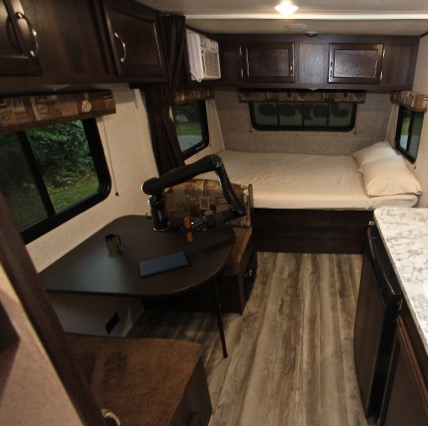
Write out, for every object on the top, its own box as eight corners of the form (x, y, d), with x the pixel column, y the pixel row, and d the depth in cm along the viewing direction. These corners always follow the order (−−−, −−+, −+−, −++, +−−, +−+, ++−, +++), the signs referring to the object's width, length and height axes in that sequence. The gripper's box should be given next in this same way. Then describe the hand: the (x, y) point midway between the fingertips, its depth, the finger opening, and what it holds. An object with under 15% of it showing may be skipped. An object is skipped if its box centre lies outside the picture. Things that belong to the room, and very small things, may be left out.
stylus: (187, 241, 154) (183, 218, 148) (192, 240, 155) (188, 217, 149) (188, 243, 152) (184, 219, 146) (193, 242, 153) (189, 218, 147)
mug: (106, 256, 157) (100, 236, 152) (113, 250, 162) (107, 231, 157) (120, 257, 156) (114, 237, 151) (127, 251, 161) (121, 232, 156)
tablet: (139, 263, 151) (139, 261, 151) (184, 252, 161) (183, 250, 161) (141, 278, 140) (140, 276, 140) (188, 265, 150) (188, 263, 150)
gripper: (206, 210, 162) (175, 219, 151) (219, 218, 153) (187, 229, 142) (208, 222, 165) (178, 232, 154) (221, 230, 157) (190, 242, 145)
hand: (183, 230), depth 148 cm, fingers closed on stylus, 2 cm apart
